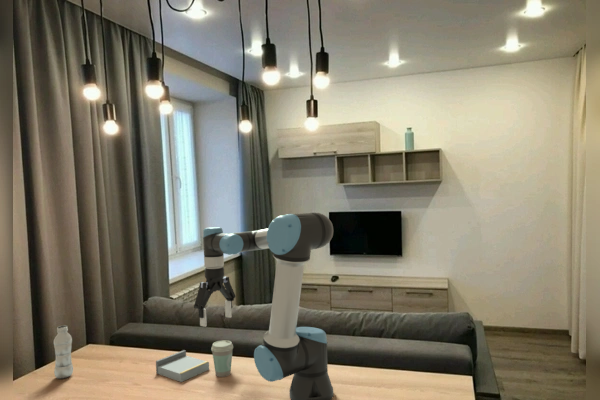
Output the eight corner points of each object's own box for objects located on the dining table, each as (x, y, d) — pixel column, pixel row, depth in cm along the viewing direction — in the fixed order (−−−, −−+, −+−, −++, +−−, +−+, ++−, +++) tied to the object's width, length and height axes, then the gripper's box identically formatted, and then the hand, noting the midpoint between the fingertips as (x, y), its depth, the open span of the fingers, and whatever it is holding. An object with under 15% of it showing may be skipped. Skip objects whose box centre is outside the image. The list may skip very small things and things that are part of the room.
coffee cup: (229, 378, 170) (228, 347, 170) (208, 377, 171) (207, 346, 171) (237, 370, 178) (236, 340, 178) (217, 368, 180) (216, 339, 180)
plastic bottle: (50, 379, 175) (48, 328, 174) (66, 372, 181) (64, 323, 180) (61, 381, 172) (59, 330, 171) (77, 375, 178) (75, 325, 177)
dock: (209, 369, 179) (208, 357, 179) (181, 382, 168) (180, 368, 168) (184, 361, 188) (183, 350, 188) (156, 373, 177) (155, 360, 177)
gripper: (229, 261, 186) (231, 312, 186) (182, 271, 165) (185, 328, 165) (242, 262, 182) (244, 314, 182) (196, 272, 161) (199, 331, 161)
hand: (216, 321), depth 174 cm, fingers open, 13 cm apart
